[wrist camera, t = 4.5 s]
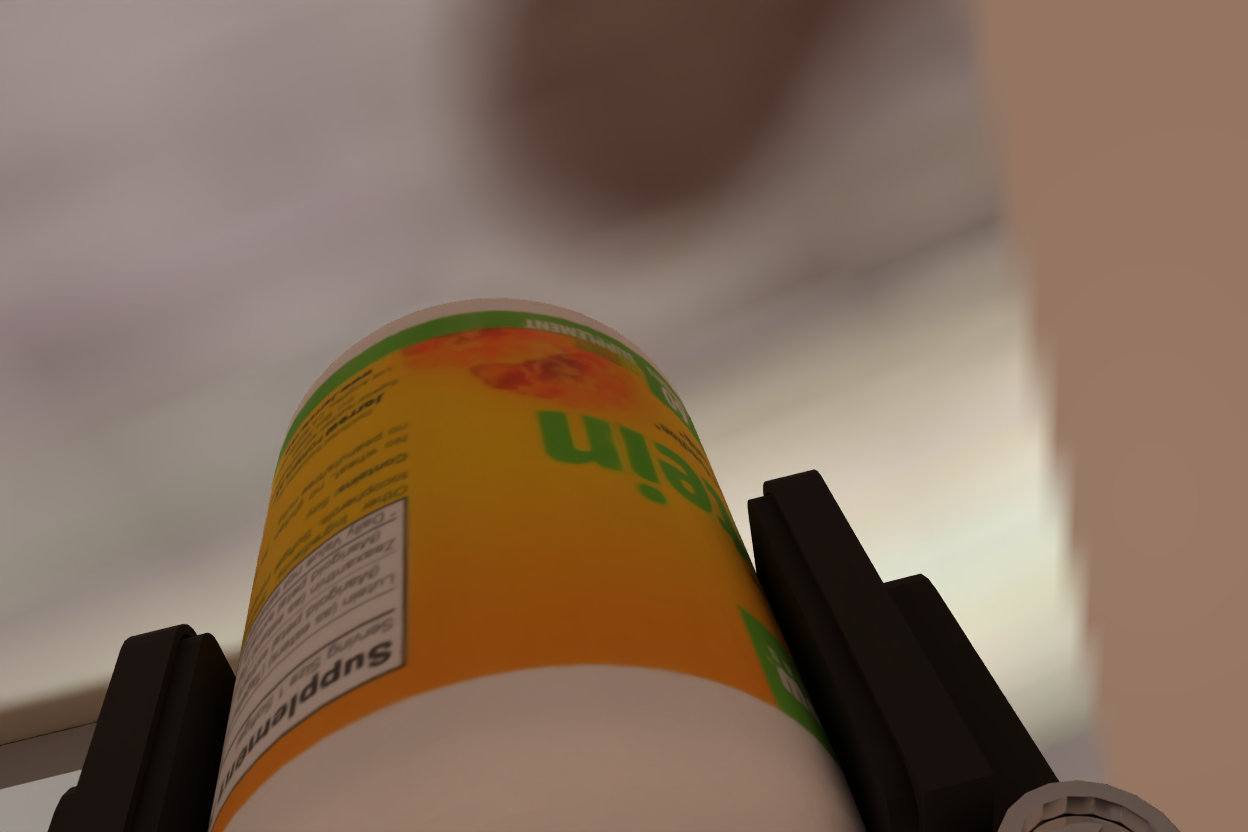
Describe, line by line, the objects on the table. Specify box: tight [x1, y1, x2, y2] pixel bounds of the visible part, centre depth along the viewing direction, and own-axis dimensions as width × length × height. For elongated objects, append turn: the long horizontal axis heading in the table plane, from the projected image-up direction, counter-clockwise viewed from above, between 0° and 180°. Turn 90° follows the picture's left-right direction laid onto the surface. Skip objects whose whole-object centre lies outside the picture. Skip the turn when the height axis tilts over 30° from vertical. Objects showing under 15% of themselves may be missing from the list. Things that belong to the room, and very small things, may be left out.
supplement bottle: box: [208, 298, 867, 832], centre depth 10 cm, size 5×5×10 cm
